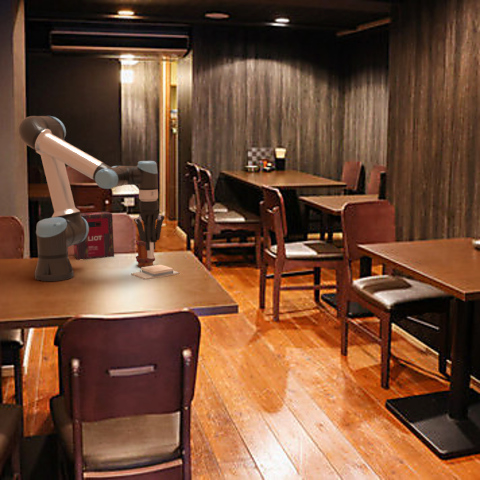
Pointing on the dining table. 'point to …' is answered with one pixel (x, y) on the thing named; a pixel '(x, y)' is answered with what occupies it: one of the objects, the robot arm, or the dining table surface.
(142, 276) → the mat
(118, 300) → the dining table surface
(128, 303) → the dining table surface
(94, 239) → the box
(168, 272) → the tile
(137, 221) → the robot arm
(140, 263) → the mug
